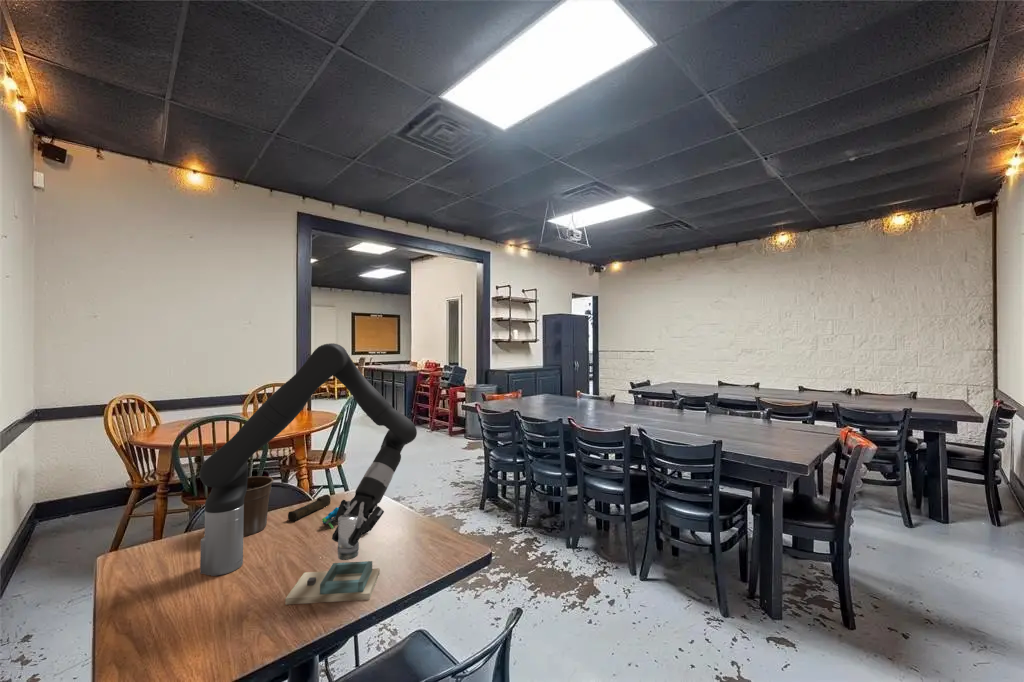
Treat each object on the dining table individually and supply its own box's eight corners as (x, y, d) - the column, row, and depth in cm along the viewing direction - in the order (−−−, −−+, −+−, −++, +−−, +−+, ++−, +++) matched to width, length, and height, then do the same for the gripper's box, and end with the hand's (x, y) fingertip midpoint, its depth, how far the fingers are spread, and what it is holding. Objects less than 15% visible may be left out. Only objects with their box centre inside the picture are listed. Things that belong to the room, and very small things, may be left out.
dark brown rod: (294, 523, 150) (295, 510, 150) (286, 521, 152) (287, 508, 152) (335, 505, 168) (335, 494, 168) (327, 504, 169) (328, 492, 170)
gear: (337, 511, 157) (350, 495, 153) (347, 523, 156) (360, 508, 152) (313, 526, 147) (327, 510, 143) (323, 539, 146) (337, 524, 142)
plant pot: (241, 543, 134) (242, 493, 134) (205, 536, 139) (206, 488, 139) (283, 523, 149) (284, 478, 150) (249, 518, 154) (250, 474, 155)
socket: (334, 560, 107) (334, 521, 107) (341, 551, 112) (341, 513, 112) (355, 559, 107) (355, 520, 107) (360, 550, 112) (361, 512, 113)
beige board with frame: (285, 604, 102) (285, 588, 102) (304, 577, 114) (304, 563, 114) (369, 599, 104) (369, 583, 104) (379, 573, 116) (379, 559, 116)
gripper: (349, 472, 120) (314, 531, 108) (389, 478, 114) (356, 541, 103) (362, 485, 124) (330, 543, 113) (401, 492, 119) (371, 553, 107)
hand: (342, 542), depth 108 cm, fingers closed on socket, 5 cm apart
